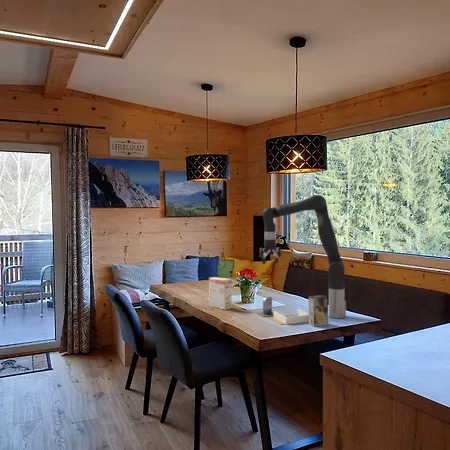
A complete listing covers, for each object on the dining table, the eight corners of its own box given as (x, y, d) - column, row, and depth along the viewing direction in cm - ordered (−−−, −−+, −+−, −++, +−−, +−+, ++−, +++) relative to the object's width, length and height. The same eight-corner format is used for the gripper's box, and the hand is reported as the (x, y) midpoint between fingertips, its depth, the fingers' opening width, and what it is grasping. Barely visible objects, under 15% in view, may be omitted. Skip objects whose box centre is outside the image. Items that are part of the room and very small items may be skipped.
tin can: (269, 312, 271) (269, 296, 271) (273, 314, 266) (273, 298, 266) (261, 313, 269) (261, 297, 269) (265, 315, 264) (265, 298, 264)
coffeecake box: (232, 308, 285) (231, 279, 284) (224, 310, 280) (224, 280, 279) (216, 304, 296) (216, 276, 295) (208, 306, 291) (208, 277, 290)
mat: (271, 312, 274) (271, 311, 274) (278, 315, 265) (278, 315, 265) (256, 313, 271) (256, 312, 271) (263, 317, 261) (263, 316, 261)
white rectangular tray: (301, 313, 269) (301, 307, 269) (317, 321, 252) (317, 314, 252) (267, 317, 262) (267, 310, 261) (281, 324, 244) (281, 317, 244)
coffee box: (322, 322, 248) (322, 294, 248) (328, 325, 242) (328, 297, 242) (308, 323, 246) (308, 295, 245) (313, 326, 240) (313, 298, 239)
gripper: (262, 239, 273) (262, 265, 273) (282, 238, 278) (282, 263, 278) (257, 238, 280) (257, 263, 280) (277, 238, 285) (277, 262, 285)
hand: (270, 263), depth 279 cm, fingers open, 8 cm apart
